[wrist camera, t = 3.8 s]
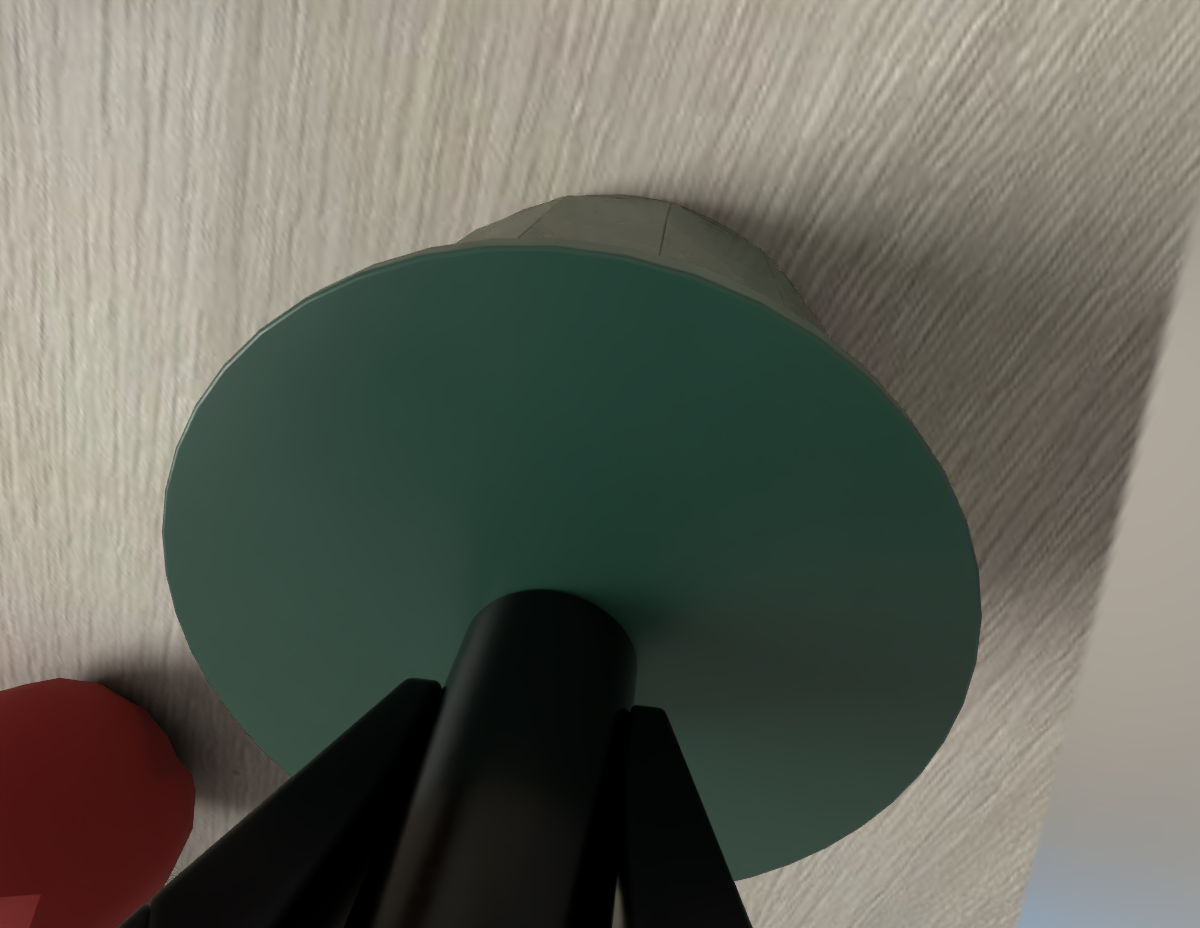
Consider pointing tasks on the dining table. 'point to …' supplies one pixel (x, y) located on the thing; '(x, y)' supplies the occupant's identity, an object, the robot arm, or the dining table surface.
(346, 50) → the dining table surface
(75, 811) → the tomato
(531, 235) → the tin
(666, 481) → the tin lid
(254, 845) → the robot arm
